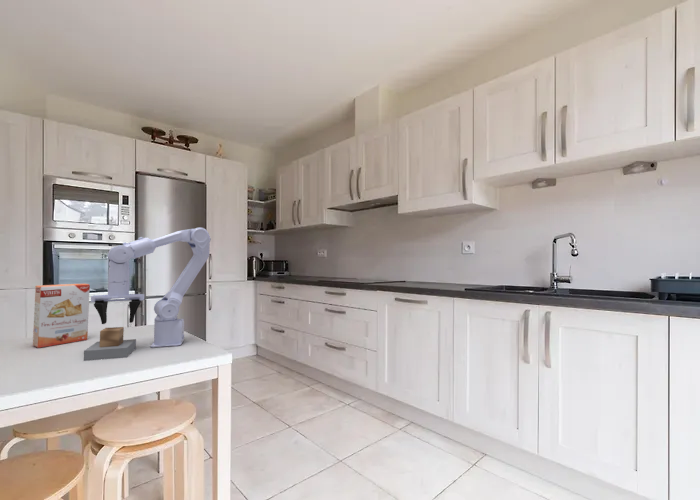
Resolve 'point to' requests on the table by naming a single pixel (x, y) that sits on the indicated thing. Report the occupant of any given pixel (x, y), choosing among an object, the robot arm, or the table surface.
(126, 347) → the gray block
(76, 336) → the cracker box
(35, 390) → the table surface
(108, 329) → the walnut cube
